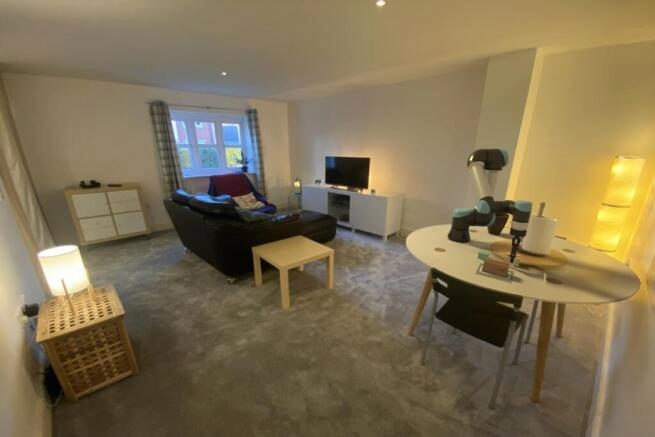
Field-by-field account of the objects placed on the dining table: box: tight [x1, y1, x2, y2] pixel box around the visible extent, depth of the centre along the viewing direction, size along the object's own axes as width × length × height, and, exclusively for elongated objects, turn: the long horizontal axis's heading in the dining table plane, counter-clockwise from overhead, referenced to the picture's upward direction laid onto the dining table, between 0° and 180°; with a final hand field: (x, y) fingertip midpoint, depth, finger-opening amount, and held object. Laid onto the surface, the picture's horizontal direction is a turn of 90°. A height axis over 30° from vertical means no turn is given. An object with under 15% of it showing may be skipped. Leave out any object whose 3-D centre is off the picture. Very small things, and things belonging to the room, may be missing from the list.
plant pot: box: [486, 214, 510, 236], centre depth 199 cm, size 15×15×16 cm
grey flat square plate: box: [474, 262, 515, 284], centre depth 138 cm, size 16×16×1 cm
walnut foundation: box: [482, 257, 510, 278], centre depth 137 cm, size 6×11×6 cm, turn 51°
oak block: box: [503, 252, 522, 268], centre depth 148 cm, size 7×7×6 cm
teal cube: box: [477, 249, 490, 261], centre depth 155 cm, size 5×5×5 cm
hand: (511, 263), depth 148 cm, fingers open, 13 cm apart
